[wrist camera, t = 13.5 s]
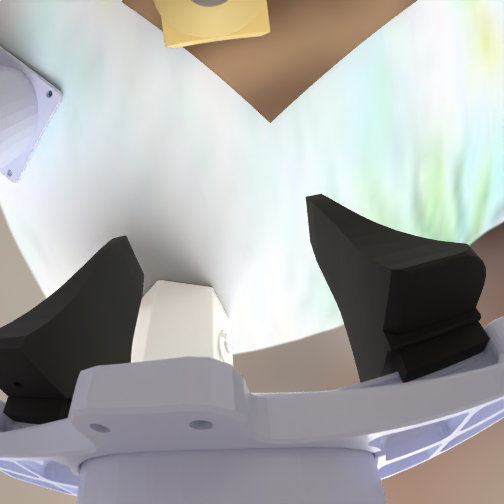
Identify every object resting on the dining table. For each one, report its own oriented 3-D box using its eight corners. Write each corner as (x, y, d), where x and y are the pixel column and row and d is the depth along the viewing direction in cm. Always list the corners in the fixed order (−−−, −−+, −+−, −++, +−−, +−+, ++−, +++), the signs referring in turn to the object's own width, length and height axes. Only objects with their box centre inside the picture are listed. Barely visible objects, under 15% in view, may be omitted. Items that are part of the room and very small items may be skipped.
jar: (240, 334, 31) (251, 450, 21) (164, 352, 31) (156, 460, 21) (205, 264, 25) (202, 401, 16) (118, 290, 26) (86, 414, 16)
